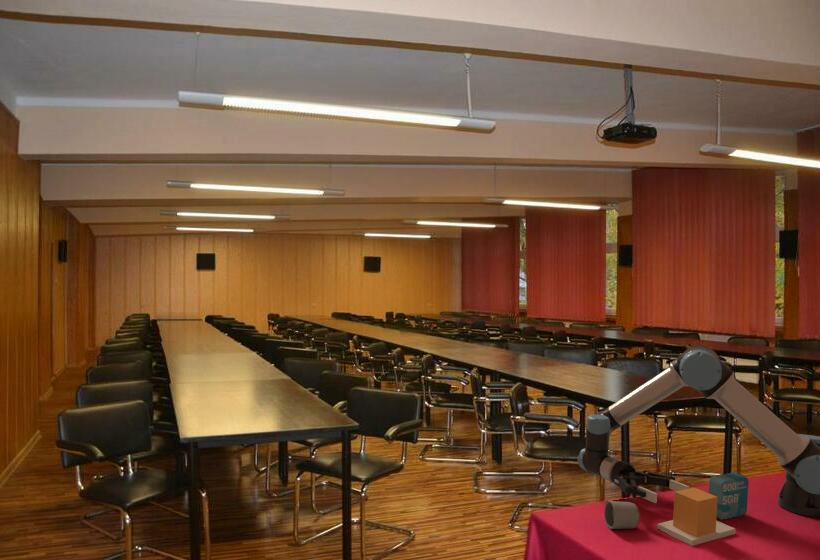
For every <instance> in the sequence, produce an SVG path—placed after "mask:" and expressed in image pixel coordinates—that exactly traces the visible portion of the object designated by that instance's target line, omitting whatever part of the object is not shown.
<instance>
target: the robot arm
mask: <svg viewBox="0 0 820 560" xmlns="http://www.w3.org/2000/svg"><path fill="white" fill-rule="evenodd" d="M669 363H670V364H669V367H668V368H665V369H664V370H663V371H661V372H659V373H658V374H657V375H655V376H654V377H651V378H650V379H648V381H645V383H642V385H639V387H637V388H635V389H633V391H631V392H629V393H628V394H626V395H625V396H623V397H621V398H620V399H619V400H617V401H616V402H614V403H612V404H611V405H610V406H608V407H607V408H605V409H603V410H600V411H598V412H597V413H596V414H590V415H588V416H587V417H586V425H585V428H586V429H585V447H584V448H582V449H581V450H580V452H579V454H578V455H577V463H578V466H579V467H580V468H581V469H582V470H584V471H586V472H587V473H589V474H590V475H591V474H592V475H595V476H597V477H599V478H602V479H604V480H606V481H609V483H611V484H612V483H613V484H614V485H615V486H617V487H619V488H620V490H621V491H622V492H624V494H625V495H626V496H631V495H632V496H631V498H635V499H636V498H637V496H638V497H640V498H642V499H644V500H647V501H649V502H652V503H654V504H657V501H658V493H656V492H655V491H652V490H650V489H648V488H645V487H643V486H647V487H648V486H649V485H651V486H652V485H653V486H659V487H666V488H669V489H670V490H672V491H674V492H675V491H680V490H684V489H689V488H690V486H689V485H686V484H684V483H681V482H680V481H677V480H676V477H675V476H672V475H671V476H670V475H666V474H661V473H656V472H652V471H648V470H642V471H643V472H641V471H637V470H636V469H635V467H634V465H632V464H630V463H628V462H626V461H622V459H619V458H617V457H614V456H610V455H609V453H610V451H609V450H610V436H611V435H612V433H613V432H614V431H616V430H617V429H619V428H620V427H622V426H623V425H625V424H627V423H628V422H630V421H631V420H633V419H634V418H636V417H637V416H638V415H641V414H642V413H643V412H645V411H647V410H648V409H650V408H651V407H653V406H655V405H657V404H658V403H660V402H661V401H662V400H665V399H666V398H667V397H669V396H670V395H672V394H673V393H675V392H676V391H679V390H680V389H681V388H683V387H690V388H692V389H694V390H696V391H698V392H699V393H700V394H701V395H702V396H703V397H704V398H705V399H708V400H712V399H713V400H715V401H716V402H717V403H718V404H719V405H720V406H722V408H724V409H725V411H727V412H728V413H729V414H730V415H731V416H732V417H734V419H736V420H737V421H738V422H739V423H740V424H742V425H743V426H744V428H745V429H747V430H748V431H749V432H750V433H751V434H752V435H754V436H755V437H756V438H757V439H758V440H759V441H760V442H761V443H763V445H765V446H766V447H767V448H768V449H769V450H770V451H771V452H773V454H774V455H776V456H777V462H778V465H779V466H780V467H782V468H783V469H784V470H785V480H784V483H783V485H782V487H781V490H780V492H779V493H778V498H777V503H778V506H779V507H781V509H784V510H786V511H788V512H791V513H794V514H798V515H801V516H807V517H814V518H820V436H817V435H811V434H802V433H801V434H800V433H796V432H795V431H794V430H792V428H790V427H789V426H788V424H786V423H785V422H783V420H781V418H779V417H778V416H777V415H776V414H774V412H772V411H771V410H770V409H769V408H768V407H767V406H766V405H764V404H763V403H762V402H761V401H760V400H758V399H757V397H756V396H754V395H753V394H752V392H750V391H749V390H747V389H746V388H745V387H744V386H743V385H742V384H741V383H740V382H739V381H737V380H736V377H735V372H734V371H733V370H732V369H731V368H730V367H729V365H727V364H725V363H724V362H723V361H722V360H721V359H720V356H719V355H718V354H717V353H716V352H715V350H713V348H711V347H709V346H707V345H702V344H697V345H693V346H691V347H688V348H687V349H686V350H685V351H684V352H683V353H681V354H680V355H679V356H678V357H676V358H675V359H674V360H672V361H671V362H669ZM640 485H641V486H640Z"/></svg>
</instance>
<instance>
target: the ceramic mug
mask: <svg viewBox="0 0 820 560" xmlns="http://www.w3.org/2000/svg"><path fill="white" fill-rule="evenodd" d="M603 511H604V521H605V524H606V526H607V528H608V527H609V528H608V529H610V530H622V529H625V530H627V529H628V530H632V529H636V528H638V527H639V525H640V522H641V512H640V510H639V507H638V505H637V504H635V503H633V502H630V501H615V500H608V501H607V502H606V503H605V505H604V510H603Z"/></svg>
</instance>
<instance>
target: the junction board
mask: <svg viewBox="0 0 820 560" xmlns="http://www.w3.org/2000/svg"><path fill="white" fill-rule="evenodd" d="M657 528H658V529H660V530H661V531H660V530H659V531H660V532H662V531H663V533H664V532H665V534H666V533H667V535H669V536H670V537H673V538H675V539H677V540H679V541H681V542H682V543H686V544H687V545H689V546H691V547H692V546H693V547H694V546H698V545H700V544H703V543H704V544H705V543H707V542H710V541H714V540H717V539H722V538H725V537H728V536H732V535H735V534H736V528H735V527H732V526H730V525H727V524H725V523H723V522H721V521H718V520H716V532H713V533H709V534H706V535H702V536H698V537H695V536H693V535H691V534H689V533H687V532H685V531H683V530H681V529H678V528H676V527H674V526H673V519H671V520H668V521H663V522H660V523H657V525H656V529H657ZM658 529H657V530H658Z"/></svg>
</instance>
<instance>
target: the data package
mask: <svg viewBox="0 0 820 560" xmlns="http://www.w3.org/2000/svg"><path fill="white" fill-rule="evenodd" d="M749 481H750V480H749V478H748V476H744V475H741V474H740V473H736V472H729V473H724V474H718V475H712V476H711V477H710V478H709V481H708V493H709V494H712V495H714V496H717V497H718V500H717V519H718V518H719V520H721V521H724V520H723V519H725V520H729V519H733V518H732V517H734V518H738V517H742V515H743V516H744V515H746V514H747V511H748V501H749V500H748V497H749V483H750V482H749ZM728 518H729V519H728Z"/></svg>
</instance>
